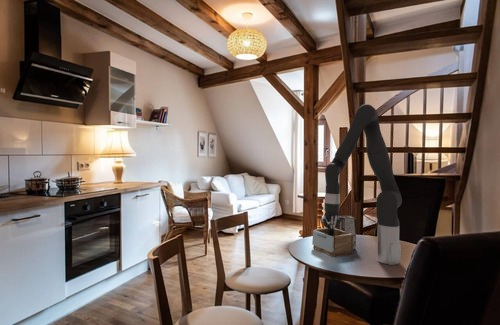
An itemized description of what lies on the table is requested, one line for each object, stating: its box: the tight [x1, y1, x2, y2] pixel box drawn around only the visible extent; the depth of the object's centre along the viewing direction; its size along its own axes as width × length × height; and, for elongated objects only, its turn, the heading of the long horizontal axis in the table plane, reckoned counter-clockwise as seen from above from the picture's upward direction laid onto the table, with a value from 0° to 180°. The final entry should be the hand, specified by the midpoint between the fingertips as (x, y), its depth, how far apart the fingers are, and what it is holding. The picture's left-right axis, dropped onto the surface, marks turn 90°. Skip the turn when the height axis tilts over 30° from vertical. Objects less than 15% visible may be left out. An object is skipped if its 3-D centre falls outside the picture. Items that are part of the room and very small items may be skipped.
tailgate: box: [311, 229, 334, 253], centre depth 159 cm, size 15×2×8 cm, turn 26°
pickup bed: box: [313, 227, 354, 258], centre depth 162 cm, size 16×12×10 cm
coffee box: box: [339, 215, 357, 250], centre depth 171 cm, size 9×6×16 cm
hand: (330, 235), depth 162 cm, fingers closed
